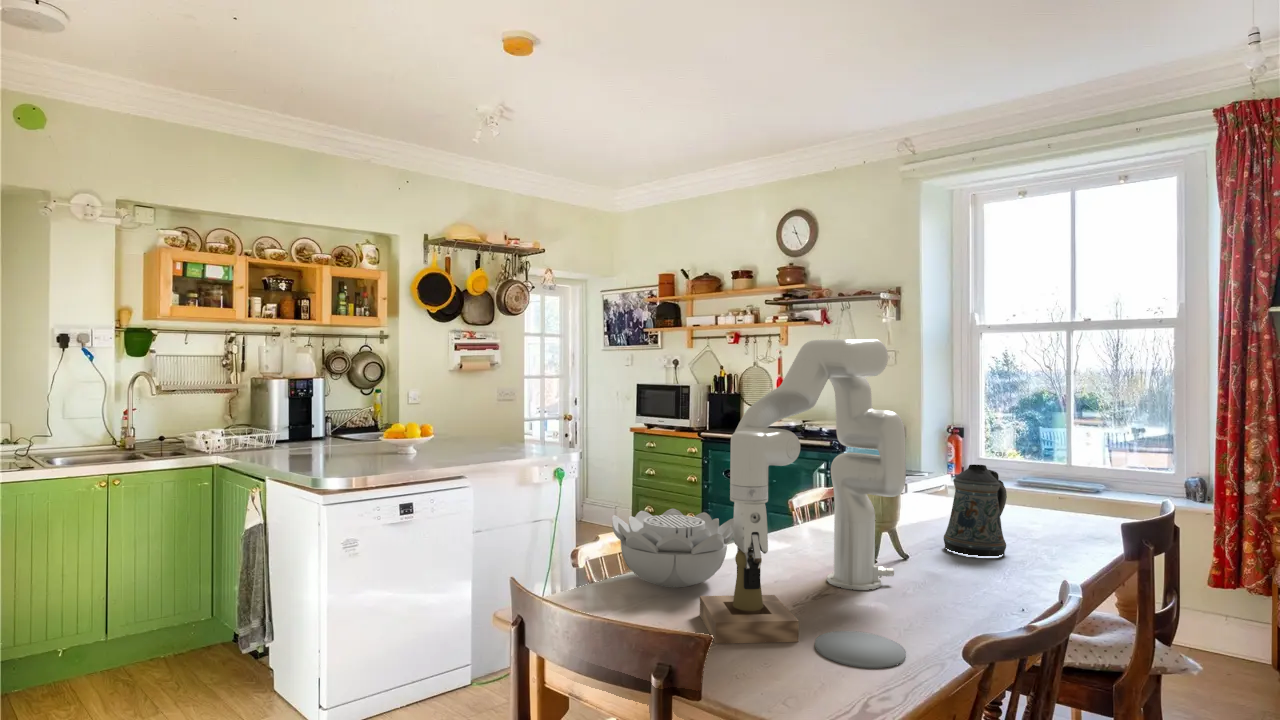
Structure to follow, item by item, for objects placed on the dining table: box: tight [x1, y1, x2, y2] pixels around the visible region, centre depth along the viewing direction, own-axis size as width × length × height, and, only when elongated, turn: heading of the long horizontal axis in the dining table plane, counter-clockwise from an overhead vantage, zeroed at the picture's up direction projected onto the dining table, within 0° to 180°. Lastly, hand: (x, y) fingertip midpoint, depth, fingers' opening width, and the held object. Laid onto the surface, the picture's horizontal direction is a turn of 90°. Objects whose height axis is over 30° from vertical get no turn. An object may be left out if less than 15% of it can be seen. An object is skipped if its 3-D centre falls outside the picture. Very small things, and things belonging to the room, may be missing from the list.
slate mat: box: [814, 630, 907, 669], centre depth 136 cm, size 16×16×1 cm
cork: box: [733, 549, 763, 611], centre depth 148 cm, size 6×6×11 cm
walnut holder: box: [699, 594, 800, 645], centre depth 147 cm, size 16×16×4 cm
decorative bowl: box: [611, 508, 734, 588], centre depth 178 cm, size 30×30×15 cm
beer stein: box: [943, 464, 1008, 556], centre depth 215 cm, size 16×19×25 cm
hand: (748, 583), depth 148 cm, fingers closed on cork, 4 cm apart
